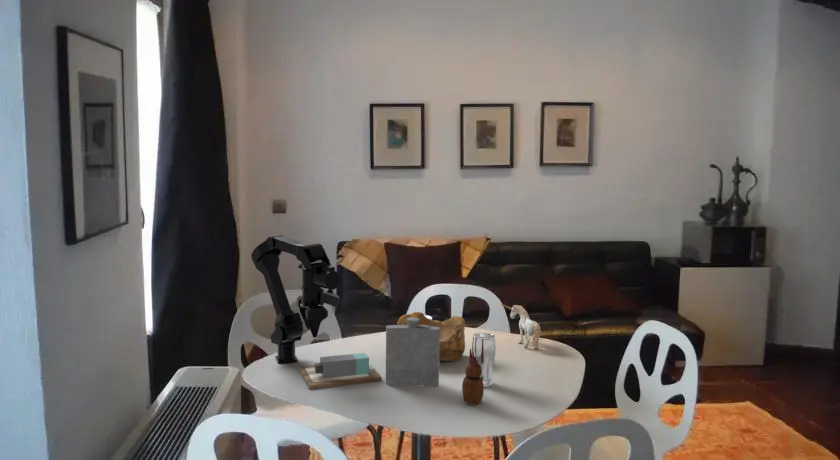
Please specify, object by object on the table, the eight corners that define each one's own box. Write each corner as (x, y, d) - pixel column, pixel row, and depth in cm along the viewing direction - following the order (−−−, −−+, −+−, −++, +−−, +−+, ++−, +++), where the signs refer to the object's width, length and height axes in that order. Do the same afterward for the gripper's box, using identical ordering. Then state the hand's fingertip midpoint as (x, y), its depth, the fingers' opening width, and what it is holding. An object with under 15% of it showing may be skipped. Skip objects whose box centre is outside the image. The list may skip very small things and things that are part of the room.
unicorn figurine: (514, 336, 248) (515, 301, 246) (551, 350, 232) (553, 313, 230) (499, 339, 244) (500, 303, 242) (536, 353, 228) (537, 316, 226)
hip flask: (384, 385, 197) (385, 319, 194) (386, 380, 201) (387, 316, 198) (438, 387, 196) (439, 321, 193) (438, 382, 200) (440, 317, 197)
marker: (313, 373, 201) (313, 357, 200) (364, 368, 207) (364, 352, 206) (317, 379, 197) (316, 363, 196) (369, 373, 202) (369, 357, 201)
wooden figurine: (460, 398, 188) (461, 347, 186) (480, 397, 188) (482, 346, 186) (464, 407, 181) (465, 354, 179) (484, 407, 181) (486, 354, 179)
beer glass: (493, 389, 195) (494, 339, 193) (469, 387, 196) (471, 338, 194) (495, 380, 201) (496, 333, 199) (472, 378, 203) (473, 331, 201)
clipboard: (299, 371, 207) (299, 364, 207) (366, 363, 215) (367, 357, 215) (309, 389, 192) (309, 382, 192) (381, 380, 200) (381, 373, 200)
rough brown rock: (393, 370, 212) (395, 326, 209) (396, 349, 228) (398, 308, 225) (465, 374, 212) (468, 330, 208) (463, 353, 228) (466, 312, 224)
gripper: (344, 289, 199) (344, 339, 201) (330, 276, 216) (330, 323, 218) (307, 291, 195) (307, 342, 197) (296, 278, 212) (296, 325, 214)
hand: (311, 333), depth 207 cm, fingers open, 9 cm apart
